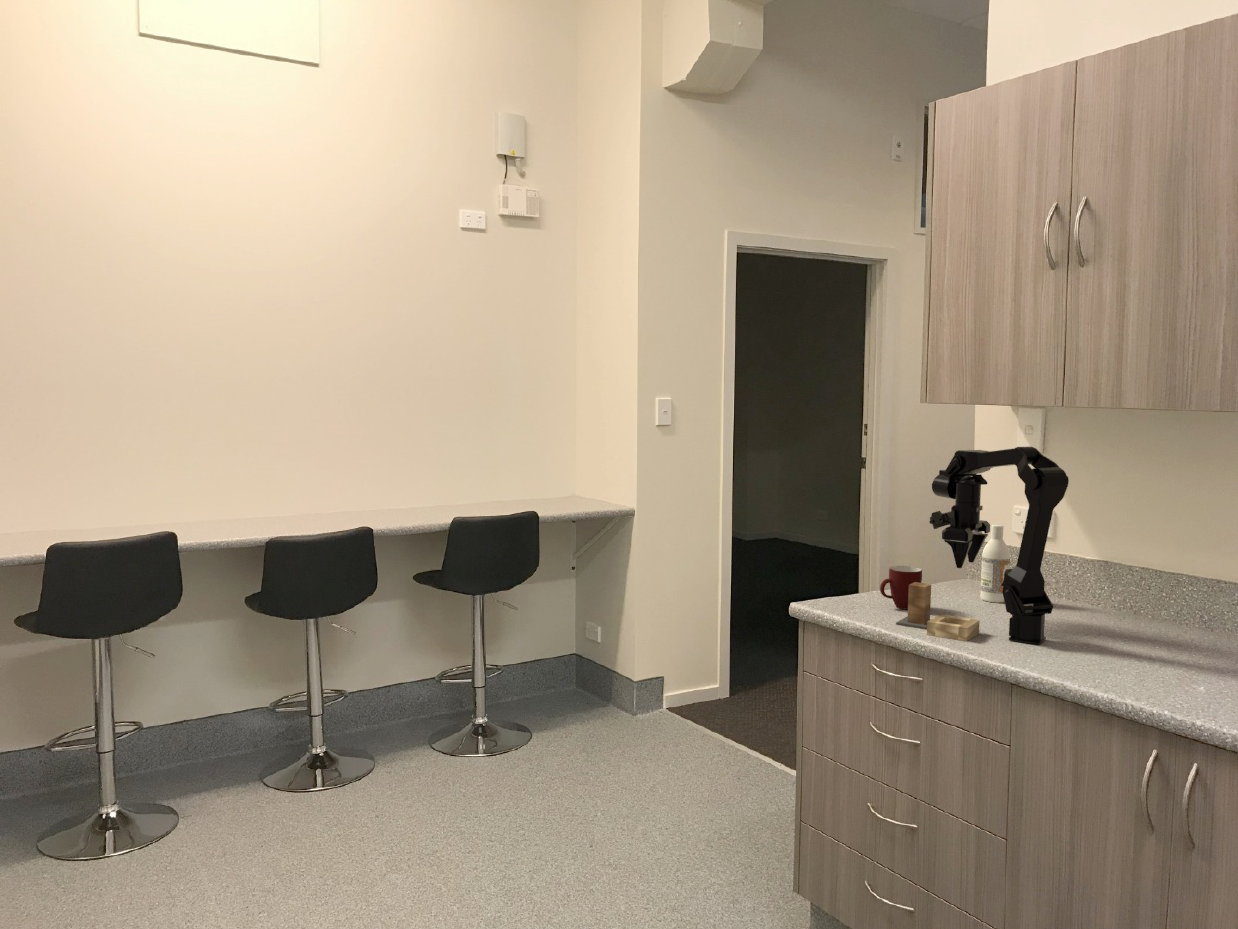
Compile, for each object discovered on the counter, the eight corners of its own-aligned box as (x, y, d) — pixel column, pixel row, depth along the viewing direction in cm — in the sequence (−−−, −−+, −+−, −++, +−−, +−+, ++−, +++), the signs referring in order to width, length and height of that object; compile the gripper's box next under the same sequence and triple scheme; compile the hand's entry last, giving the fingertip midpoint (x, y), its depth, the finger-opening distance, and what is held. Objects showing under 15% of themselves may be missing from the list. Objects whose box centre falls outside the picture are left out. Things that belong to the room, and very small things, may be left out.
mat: (940, 623, 235) (940, 621, 235) (929, 629, 229) (929, 627, 228) (908, 617, 240) (908, 615, 240) (896, 624, 233) (896, 622, 233)
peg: (929, 621, 234) (931, 584, 234) (924, 624, 231) (925, 587, 230) (913, 618, 237) (914, 582, 236) (907, 622, 234) (908, 584, 233)
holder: (979, 633, 226) (979, 620, 226) (966, 641, 219) (967, 628, 219) (940, 626, 232) (940, 614, 231) (926, 634, 224) (927, 621, 224)
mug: (890, 612, 245) (891, 573, 244) (873, 605, 253) (874, 567, 252) (927, 610, 248) (928, 571, 247) (909, 603, 255) (910, 565, 254)
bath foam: (1001, 604, 254) (1004, 528, 253) (975, 600, 259) (978, 525, 258) (1012, 600, 259) (1016, 525, 257) (987, 596, 264) (990, 522, 262)
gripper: (947, 495, 250) (944, 555, 252) (921, 502, 235) (919, 567, 237) (992, 498, 244) (989, 561, 245) (968, 506, 229) (966, 572, 230)
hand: (965, 565), depth 239 cm, fingers open, 9 cm apart
